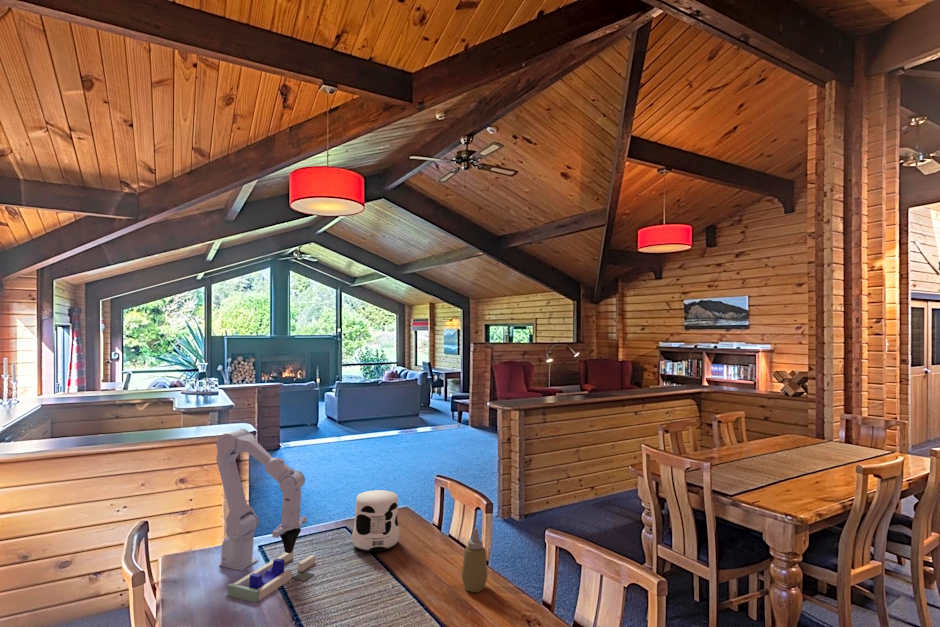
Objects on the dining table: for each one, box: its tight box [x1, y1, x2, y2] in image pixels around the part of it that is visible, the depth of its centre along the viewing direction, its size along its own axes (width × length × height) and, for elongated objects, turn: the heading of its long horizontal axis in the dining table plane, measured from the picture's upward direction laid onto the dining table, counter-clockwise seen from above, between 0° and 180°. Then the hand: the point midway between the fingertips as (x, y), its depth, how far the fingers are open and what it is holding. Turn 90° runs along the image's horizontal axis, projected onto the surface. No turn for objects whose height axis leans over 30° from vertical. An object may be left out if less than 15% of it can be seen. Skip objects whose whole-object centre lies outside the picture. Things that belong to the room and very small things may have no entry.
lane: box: [226, 551, 316, 603], centre depth 155 cm, size 10×27×3 cm, turn 161°
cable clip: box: [248, 557, 285, 589], centre depth 150 cm, size 12×4×6 cm, turn 164°
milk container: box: [351, 489, 400, 552], centre depth 182 cm, size 17×17×18 cm
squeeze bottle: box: [461, 528, 488, 593], centre depth 152 cm, size 8×8×18 cm
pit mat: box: [290, 571, 315, 583], centre depth 156 cm, size 5×5×1 cm
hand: (288, 552), depth 161 cm, fingers closed
